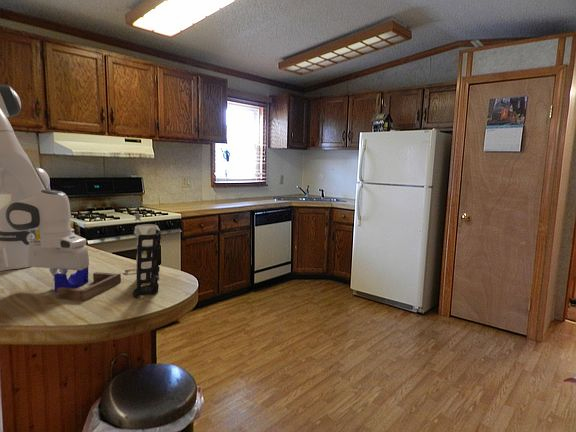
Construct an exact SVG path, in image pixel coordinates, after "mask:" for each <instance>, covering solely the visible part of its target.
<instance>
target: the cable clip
mask: <svg viewBox="0 0 576 432" xmlns="http://www.w3.org/2000/svg"><path fill="white" fill-rule="evenodd" d="M60 273H61V272H58V273H57V274H55V281H54V294H57V288H60V287H63V288H75V289H78V288H79V287H81V286H83V285H85V284H88V283H89V266H88V267H87V268H86V269H83V270H76V271H75V272H74V273H71V274H70V276H69V277H68V276H67V273H66V274H60Z"/></svg>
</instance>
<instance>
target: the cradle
mask: <svg viewBox="0 0 576 432" xmlns="http://www.w3.org/2000/svg"><path fill="white" fill-rule="evenodd" d="M92 275H93V276H92V278H93V282H94V283H93V284H91V285H90V286H87V287H85V288H63V287H60V288H57V293H56V299H60V300H71V301H72V300H74V301H82V302H83V301H84V302H85V301H87V300H89V299H92V298H93V297H95V296H97V295H99V294H101V293H103V292H105V291H107V290H109V289H111V288H112V287H115V286H116V285H119V284H121V283H122V276H121V273H112V272H111V273H110V272H99V271H98V272H97V271H96V272H93V273H92Z"/></svg>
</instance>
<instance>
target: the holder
mask: <svg viewBox="0 0 576 432" xmlns="http://www.w3.org/2000/svg"><path fill="white" fill-rule="evenodd" d="M161 236H162V232H161V230H160V231H159V230H157V229H156V233H155V234H152V235H139V236H138V237H137V239H138V252H137V253H136V255H137V268H136V273H137V281H136V288H134V289H133V290H132V296H133V297H134V298H136V299H137V298H139V297H142V296H147V295H157V293H159V287H160V286H159V285H160V284H159V283H158V281H159V280H158V277H157V276H158V272H160V265H159V263H160V259H161V249H162V248H161V239H162V237H161ZM152 239H153V245H152V246H150V247H142V241H143V240H152ZM143 251H147V257H146V258H142V252H143ZM151 252H152V257H151ZM150 261H152V267H151V268H147V269H142V268H141V263H142V262H150ZM142 273H146V279H145V280H141V274H142ZM150 275H151V278H150ZM146 284H147V285H146Z"/></svg>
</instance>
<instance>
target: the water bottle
mask: <svg viewBox="0 0 576 432" xmlns="http://www.w3.org/2000/svg"><path fill="white" fill-rule="evenodd" d="M133 216H134V217H135V218H134V221H139V222H141V221H142V220H141V218H142V217H143V214H140V213H139V211H136V213H135V214H133ZM156 229H157V230H159V231H160V232H161V229H160V228H159V225H157V224H152V223H151V224H150V223H148V224H147V223H146V224H145V223H144V224H138V225H136V226H134V231H133V234H134V235H135V237H136V238H137V240H136V242H135V245H136V251H137V252H138V236H139V235H152V234H155V233H156ZM152 245H153V239H152V240H143V241H142V247H150V246H152ZM135 257H136V261H135V263H136V269H137V254H136V256H135ZM146 257H147V251H143V252H142V258H146ZM151 257H152V252H151ZM151 267H152V261H150V262H142V263H141V268H142V269H147V268H151ZM159 272H160V271H159ZM159 272H158V276H157V277H158V281H159V280H160V273H159ZM135 276H136V277H135V278H136V280H135V281H136V282H137V272H136V275H135ZM150 278H151V275H150ZM145 279H146V273H142V274H141V280H145Z"/></svg>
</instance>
